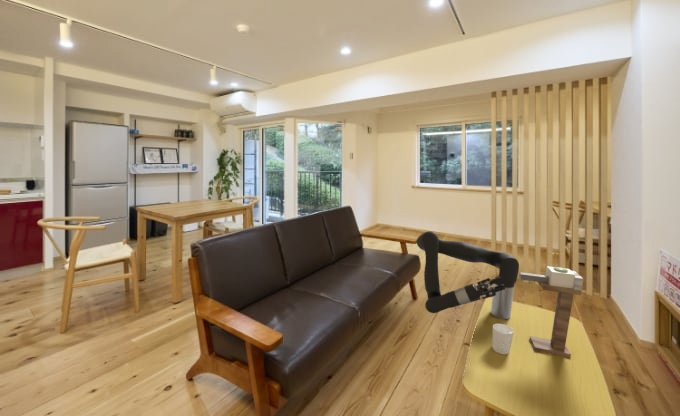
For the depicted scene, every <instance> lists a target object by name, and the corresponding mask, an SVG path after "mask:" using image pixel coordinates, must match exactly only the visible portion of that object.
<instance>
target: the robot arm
mask: <svg viewBox="0 0 680 416" xmlns="http://www.w3.org/2000/svg"><path fill="white" fill-rule="evenodd" d="M416 245H417V247H418V248H419V249H420V250H422V251H423V252H424V254H425V255H424V256H425V265H424V270H423V271H424V274H423V275H424V276H423V278H424V281H423V282H424V289H425V293H426V294H427V295H426V296H427V300H426V301H425V304H424V305H425V306H424V308H425V310H427V312H429V313H431V314H437V313H439V312H442V311H444V310H447V309H451V308H455V307H459V306H464V305H467V304H469V303H474V302H476V301H480V300H484V299H487V298H491V297H492V298H491V300H492V302H491V308H490V314H491V315H492V316H493V317H495V318H497V319H501V320H509V319H510V318H511V316H512V307H513V299H514V291H515V284H516V282H517V281H518V277H519V271H520V270H519V269H520V263H519V260H518V259H517V258H515V257H514V256H513V255H511V254H509V253H507V252H503V251H497V250H495V251H494V250H489V249H487V248H484V247H481V246H478V245H474V244H472V243H467V242H463V241H457V240H454V241H453V240H443V239H441V238H439V237H438V235H437V233H436V232H434V231H431V230H430V231H425V232H423V233H422V234H420V235H419V236H418V238H417V239H416ZM439 254H441V255H444V256H448V257H451V258H453V259H457V260H461V261H464V262H468V263H472V264H474V263H476V264H478V263H483V264H487V265H489V266H493V267H495V268H497V269H498V270H499V272H498V273H499V274H498V275H497V276H495V277H494V278H493V279H492V278H489V277H488V278H485V279H482V280H480V281H479V280H478V282H477V283H476V284H477V285H476V284H474V283H470V284H467V285H464V286H462V287H458V288H456V289H455V290H451V291H449V292H446V293H444V294H441V293H442V292H441V290H440V289H441V286H440V278H439V277H440V276H439V274H440V273H439Z"/></svg>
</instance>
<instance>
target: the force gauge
mask: <svg viewBox="0 0 680 416" xmlns="http://www.w3.org/2000/svg"><path fill="white" fill-rule="evenodd" d="M572 271H573V270H571V269H570V268H566V267H561V266H559V267H558V266H550V265H549V266H548V265H547V266H546V271H545V275H543V274H539V273H537V274H535V273H529V272H522V271H520V272H519V273H518V277H519V280H520V281H526V282H527V281H528V282H533V283H534V282H535V283H538V282H541V283H549V285H550V286H558V287H565V288H573V286H574V280H575V274H574V273H573V272H572Z"/></svg>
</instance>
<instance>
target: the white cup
mask: <svg viewBox="0 0 680 416" xmlns="http://www.w3.org/2000/svg"><path fill="white" fill-rule="evenodd" d="M514 331H515V330H514V329H513V328H512V327H511V326H510V325H507V324H504V323H494V324H492V334H491V335H492V336H491V338H492V339H491V342H492V343H491V348H492V350H493V351H494V352H495V353H497V354H501V355H509V353H510V351H511V347H512V342H513V337H514V334H515V333H514Z"/></svg>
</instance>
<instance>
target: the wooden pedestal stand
mask: <svg viewBox="0 0 680 416" xmlns="http://www.w3.org/2000/svg"><path fill="white" fill-rule="evenodd" d="M571 271H572V272H573V273H574V274H575V280H574V286H573V288H565V287H558V286H550V285H549V283H541V282H537V283H538V285H539V286H540V287H541V289H542V290H543V291H549V292H555V293H557V297H556V299H557V300H556V305H555V311H554V317H553V319H554V320H553V325H552V331H551V332H552V333H551V336H550V337H551V339H548V338H543V337H537V336H530V335H529V341H530V343H531V345H532V348H533V349H534V351H535V352H539V353H545V354H550V355H556V356H561V357H565V358H571V357H572V354H571V352H570V351H569V349H568V346H566V345H567V337H568V330H569V325H570V318H571V313H572V306H573V300H574V295H577V296H581V295H582V290H583V284H584V278H583V277H582V276H581V275H580V274H579V273H578V272H576V271H575V270H571Z"/></svg>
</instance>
